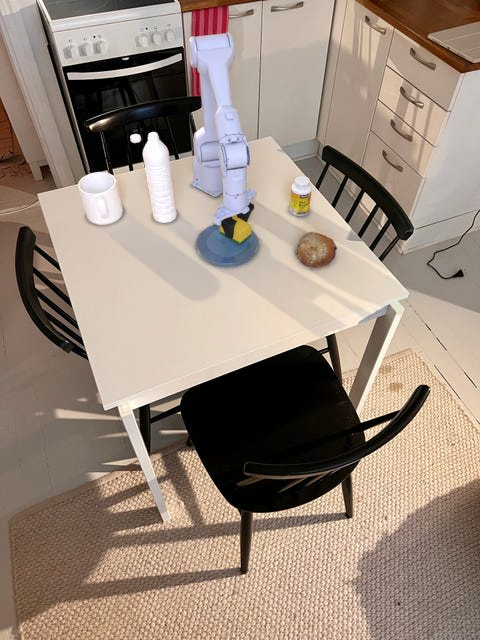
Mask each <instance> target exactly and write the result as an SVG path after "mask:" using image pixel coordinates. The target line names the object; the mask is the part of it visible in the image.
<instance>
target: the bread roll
mask: <svg viewBox="0 0 480 640" xmlns="http://www.w3.org/2000/svg"><path fill="white" fill-rule="evenodd" d="M337 250H338V247H337V245H336V243H335V241H334V239H333V238H331V237H329V236H327V235H325V234H322V233H320V232H316V231H309V232H306V233H305V234H304V235H303V236H301V238H300V239H299V240H298V244H297V249H296V250H295V255H297V259H298V260H299V262H300V263H301V264H302V265H303V266H305V267H308V268H313V269H317V268H323V267H325V266H327V265H329V264H330V263H331V262H333V260H334V259H335V257H336V253H337Z"/></svg>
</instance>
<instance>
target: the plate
mask: <svg viewBox="0 0 480 640" xmlns="http://www.w3.org/2000/svg"><path fill="white" fill-rule="evenodd" d="M196 240H197V241H196V249H197V252H198V255H199V256H200V257H201V258H202V260H204V261H206V262H207V263H209V264H211V265H213V266H216V267H222V268H223V267H225V268H229V267H230V268H231V267H236V266H241V265H243V264H245V263H247V262H249V261H250V260H252V258H253V257H254V256H255V255H256V253H257V251H258V245H259V242H258V241H259V240H258V237H257V235H256V234H255V232H254V231H253V230H252V229H251V237H250V238H249V239H248V240H246V241H245V242H244V243H243V244H241V245H238V244H237V243H235V242H233V241H231V240H230V239H228V238H226V237H225V236H223V235H221V234H220V225H219V226H218V225H216V224H215V223H214V224H212V225H210V226H207V227H206V228H204V229H203V230H202V231H201V232H200V233H199V235H198V237H197V239H196Z"/></svg>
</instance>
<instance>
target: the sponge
mask: <svg viewBox="0 0 480 640" xmlns="http://www.w3.org/2000/svg"><path fill="white" fill-rule="evenodd" d="M231 217H232V218H233V219H234V220H236V221H237V222H236V224H235V227H234V236H233V238H232V239H230V238H228V237H226V236H225V233H224V230H223V228H222V226H221V224H220V234H221V235H223V236H225V237H226V238H228V239H230V240H231V241H233V242H235V243H237V244H238V245H241V244H243V243H244V242H245V241H246V240H248V239H249V238H250V237H251V230H252V223H251V224H250V223H248V222H245V221H243V220H241V219H240V218H238V217H237V215H233V216H231Z"/></svg>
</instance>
